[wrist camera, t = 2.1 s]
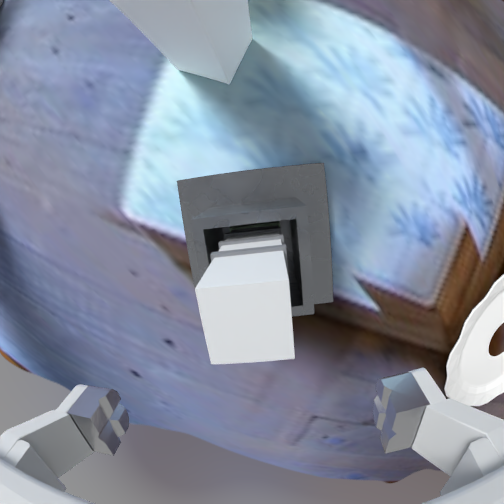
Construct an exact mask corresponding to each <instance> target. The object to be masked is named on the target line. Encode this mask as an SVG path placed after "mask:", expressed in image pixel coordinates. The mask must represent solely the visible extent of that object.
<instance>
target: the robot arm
mask: <svg viewBox="0 0 504 504" xmlns="http://www.w3.org/2000/svg"><path fill="white" fill-rule="evenodd" d="M375 389H376V392H377V394H378V395H377V397H376V398H375V399H374V402H373V417H374V422H375V425H376V428H378V429H380V430H381V435H380V440H381V443H382V446H383V448H384V451H385V453H390V452H394V451H398V450H402V449H406V448H410V447H412V449H413V450H414V451H416V452H417V453H419V454H420V455H421V456H423V457H424V458H425V459H427V460H428V461H429V462H431V463H432V464H434V465H435V466H436V467H438V468H439V469H441V470H442V471H443V472H445V473H446V474H448V475H449V476H451V477H450V478H449V480H448V481H447V483H446V484H445V486H444V487H443V488H442V490H441V492H440V494H441V496H440V497H438V498H435V499H432V500H430V501H427V502H424V503H421V504H504V420H503V419H500V418H497V417H495V416H492V415H490V414H487V413H485V412H482V411H480V410H478V409H475V408H473V407H470V406H468V405H466V404H463V403H461V402H458V401H456V400H454V399H451V398H450V399H446V398H445V396H444V395H443V393H442V392H441V390H440V389H439V387H438V386H437V384H436V383H435V382H434V380H433V379H432V377H431V376H430V374H429V373H428V371H427V370H426V369H425V368H420V369H417V370H413V371H409V372H406V373H402V374H398V375H393V376H389V377H384V378H379V379H378V380H377V382H376V388H375ZM120 400H121V398H120V396H119V394H118V392H117V391H115V390H113V389H107V388H101V387H95V386H87V385H82V384H79V385H76V386H75V388H74V389H73V390H72V391H71V392H70V394H69V395H68V396H67V397H66V398H65V399H64V401H63V402H62V403H61V404H60V406H59V407H58V408H57V409H56V410H51V411H49V412H47V413H44V414H42V415H40V416H38V417H36V418H33V419H31V420H29V421H27V422H24V423H22V424H20V425H18V426H15V427H13V428H11V429H8V430H6V431H5V432H4V433H3V434H2V435H1V436H0V504H95V503H92V502H90V501H87V500H84V499H81V498H79V497H76V496H74V495H71V494H69V493H67V492H65V490H66V487H65V485H64V484H63V483H62V482H61V481H60V480H59V479H58V478H59V477H60V476H62V475H63V474H65V473H66V472H67V471H69V470H70V469H72V468H73V467H74V466H76V465H77V464H78V463H80V462H81V461H83V460H84V459H85V458H87V457H88V456H90V455H91V454H92V453H93V451H94V452H99V453H103V454H108V455H113V456H114V454H115V452H116V450H117V448H118V447H119V445H120V443H121V442H120V438H119V437H120V436H122V435H124V434H125V433H126V431H127V429H128V426H129V416H128V413H127V411H126V409H125V408H124V407H123V406H122V405H121V404H120V403H119V402H120Z"/></svg>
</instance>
